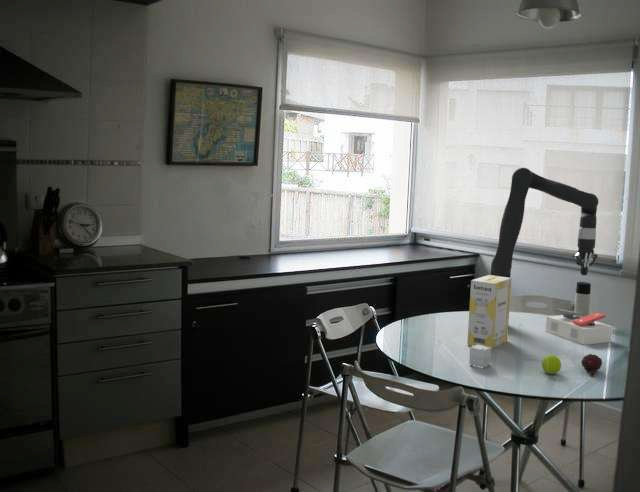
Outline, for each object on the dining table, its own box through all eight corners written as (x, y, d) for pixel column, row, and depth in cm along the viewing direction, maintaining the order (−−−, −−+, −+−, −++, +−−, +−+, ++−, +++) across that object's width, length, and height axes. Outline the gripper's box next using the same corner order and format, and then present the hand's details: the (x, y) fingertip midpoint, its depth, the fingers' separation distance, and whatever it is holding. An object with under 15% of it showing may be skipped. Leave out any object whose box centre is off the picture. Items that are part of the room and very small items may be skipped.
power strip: (583, 344, 313) (584, 326, 312) (545, 331, 334) (546, 313, 333) (611, 341, 319) (612, 323, 318) (572, 328, 341) (573, 311, 340)
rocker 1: (561, 313, 326) (562, 310, 326) (553, 311, 331) (554, 307, 331) (584, 317, 332) (584, 314, 332) (576, 315, 337) (576, 312, 337)
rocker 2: (581, 326, 315) (581, 323, 315) (572, 323, 320) (572, 320, 320) (605, 317, 320) (605, 314, 320) (596, 315, 325) (596, 312, 325)
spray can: (585, 321, 355) (589, 281, 353) (589, 325, 349) (592, 284, 346) (571, 321, 356) (574, 281, 353) (575, 324, 349) (578, 283, 347)
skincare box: (476, 362, 283) (477, 344, 282) (490, 365, 279) (491, 347, 278) (468, 365, 278) (469, 347, 277) (483, 369, 274) (484, 350, 273)
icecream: (580, 348, 283) (579, 362, 269) (600, 346, 280) (600, 360, 266) (583, 365, 284) (582, 379, 270) (603, 363, 281) (603, 378, 267)
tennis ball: (556, 370, 275) (558, 353, 274) (563, 376, 268) (564, 358, 267) (538, 370, 274) (539, 352, 273) (544, 376, 267) (546, 358, 266)
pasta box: (490, 349, 301) (494, 283, 297) (467, 345, 307) (471, 280, 303) (507, 341, 315) (511, 277, 312) (484, 336, 322) (488, 274, 318)
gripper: (591, 236, 334) (588, 272, 336) (569, 236, 329) (566, 274, 331) (604, 238, 327) (601, 275, 330) (581, 238, 322) (578, 277, 324)
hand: (583, 274), depth 330 cm, fingers closed
